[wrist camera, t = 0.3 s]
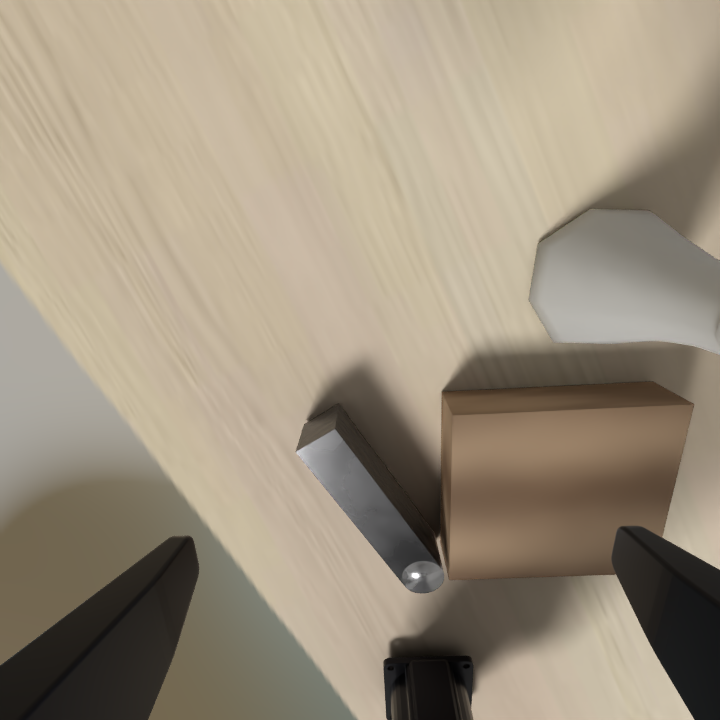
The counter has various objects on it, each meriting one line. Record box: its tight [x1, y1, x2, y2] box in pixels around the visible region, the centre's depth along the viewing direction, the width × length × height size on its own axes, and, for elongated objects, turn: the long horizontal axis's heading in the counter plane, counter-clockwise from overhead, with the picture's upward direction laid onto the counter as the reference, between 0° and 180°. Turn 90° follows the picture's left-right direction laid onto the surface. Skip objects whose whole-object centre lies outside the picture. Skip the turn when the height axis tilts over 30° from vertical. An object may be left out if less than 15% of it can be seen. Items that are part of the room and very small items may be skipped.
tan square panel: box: [440, 382, 694, 580], centre depth 23 cm, size 11×12×3 cm
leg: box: [296, 404, 444, 593], centre depth 24 cm, size 12×2×3 cm, turn 33°
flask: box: [529, 209, 720, 355], centre depth 16 cm, size 7×7×10 cm
